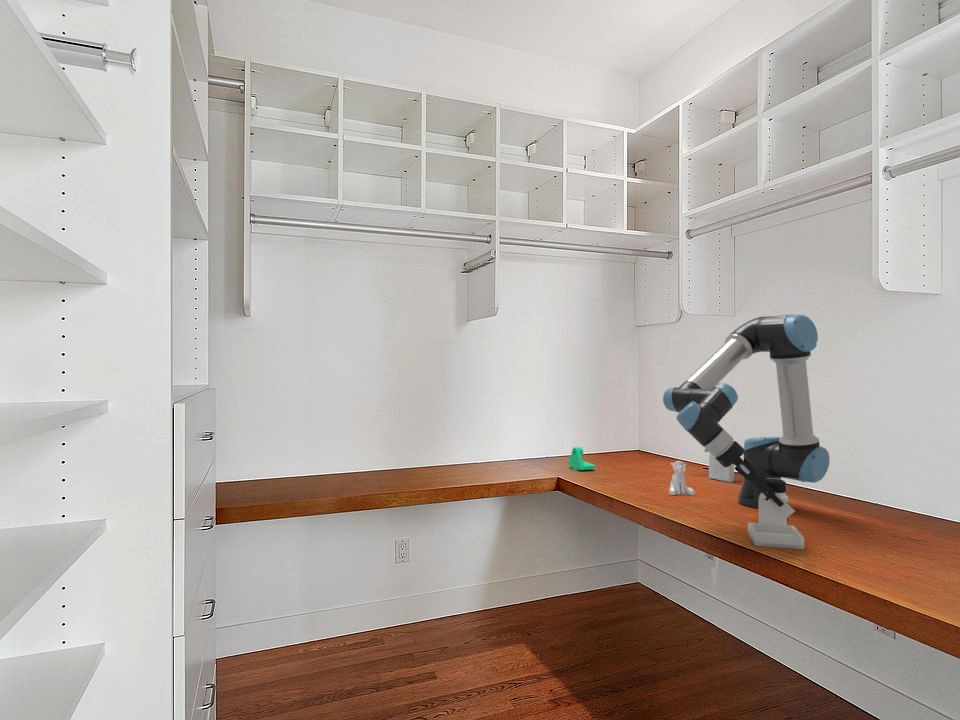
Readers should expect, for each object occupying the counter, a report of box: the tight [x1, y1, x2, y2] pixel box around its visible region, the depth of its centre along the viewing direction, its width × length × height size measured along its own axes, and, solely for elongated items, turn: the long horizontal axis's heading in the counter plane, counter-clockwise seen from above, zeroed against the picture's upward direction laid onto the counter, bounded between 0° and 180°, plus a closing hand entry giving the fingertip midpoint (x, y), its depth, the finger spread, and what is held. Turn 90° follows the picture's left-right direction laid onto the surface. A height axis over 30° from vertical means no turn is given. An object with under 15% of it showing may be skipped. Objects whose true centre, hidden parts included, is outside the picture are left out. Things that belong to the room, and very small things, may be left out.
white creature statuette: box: [668, 460, 696, 496], centre depth 221 cm, size 10×9×12 cm
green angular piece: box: [568, 446, 596, 471], centre depth 270 cm, size 12×8×10 cm, turn 18°
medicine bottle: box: [758, 478, 789, 527], centre depth 163 cm, size 7×7×12 cm
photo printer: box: [708, 452, 735, 483], centre depth 245 cm, size 10×4×12 cm, turn 38°
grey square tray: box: [747, 522, 805, 550], centre depth 163 cm, size 12×12×3 cm
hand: (787, 510), depth 162 cm, fingers closed on medicine bottle, 8 cm apart
